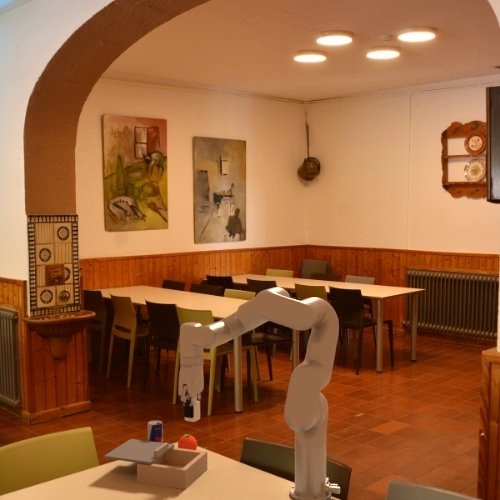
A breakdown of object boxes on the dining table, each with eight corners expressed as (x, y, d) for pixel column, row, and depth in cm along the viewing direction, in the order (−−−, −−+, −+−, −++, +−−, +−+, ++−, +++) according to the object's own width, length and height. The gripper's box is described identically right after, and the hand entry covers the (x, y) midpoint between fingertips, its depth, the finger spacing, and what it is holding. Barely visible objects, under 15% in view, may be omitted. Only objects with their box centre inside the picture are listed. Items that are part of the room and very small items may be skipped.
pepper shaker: (183, 421, 215) (183, 392, 214) (190, 417, 218) (190, 389, 218) (194, 422, 213) (193, 394, 212) (200, 419, 216) (200, 391, 216)
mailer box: (207, 469, 219) (207, 451, 219) (185, 489, 203) (185, 470, 203) (162, 463, 225) (161, 445, 224) (137, 482, 209) (137, 463, 208)
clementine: (174, 452, 235) (174, 432, 235) (192, 449, 238) (192, 429, 238) (181, 459, 228) (181, 439, 228) (200, 456, 231) (199, 436, 230)
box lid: (174, 446, 223) (174, 438, 222) (150, 464, 207) (150, 456, 207) (130, 441, 228) (130, 433, 228) (104, 458, 212) (104, 449, 212)
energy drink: (160, 458, 229) (159, 425, 228) (145, 457, 230) (145, 424, 229) (165, 453, 234) (164, 420, 233) (150, 452, 235) (150, 419, 234)
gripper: (193, 354, 224) (193, 407, 225) (169, 365, 208) (170, 421, 209) (213, 356, 221) (213, 409, 222) (190, 366, 205) (191, 424, 206)
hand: (192, 414), depth 215 cm, fingers closed on pepper shaker, 4 cm apart
